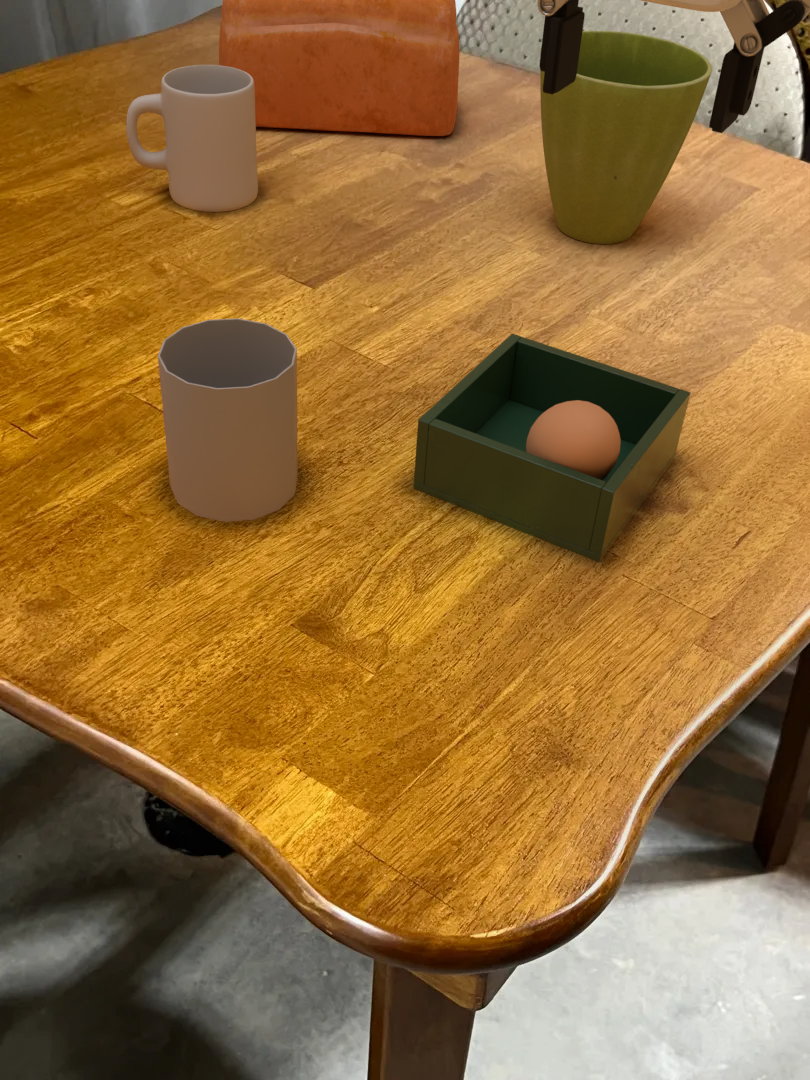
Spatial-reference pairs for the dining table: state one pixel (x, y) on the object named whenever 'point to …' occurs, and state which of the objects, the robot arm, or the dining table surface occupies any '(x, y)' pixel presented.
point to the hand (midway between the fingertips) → (638, 105)
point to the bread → (347, 63)
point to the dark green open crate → (533, 482)
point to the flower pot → (618, 130)
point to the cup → (230, 418)
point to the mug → (203, 136)
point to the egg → (576, 438)
